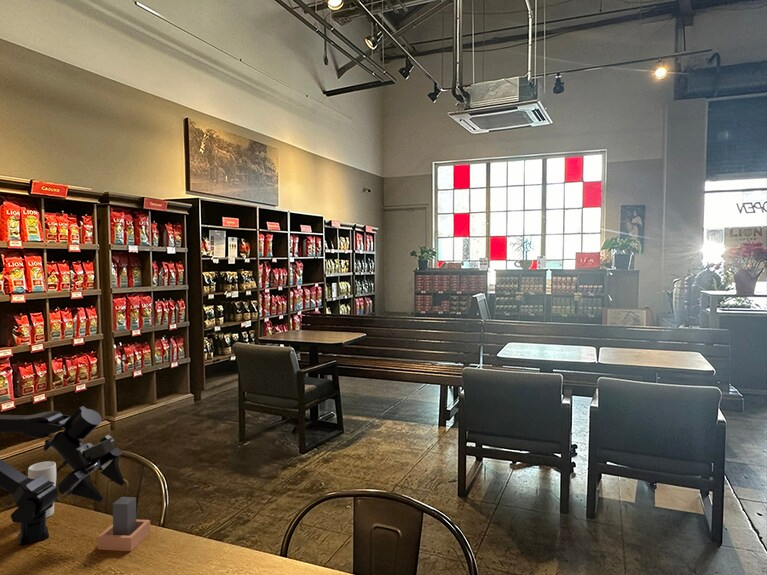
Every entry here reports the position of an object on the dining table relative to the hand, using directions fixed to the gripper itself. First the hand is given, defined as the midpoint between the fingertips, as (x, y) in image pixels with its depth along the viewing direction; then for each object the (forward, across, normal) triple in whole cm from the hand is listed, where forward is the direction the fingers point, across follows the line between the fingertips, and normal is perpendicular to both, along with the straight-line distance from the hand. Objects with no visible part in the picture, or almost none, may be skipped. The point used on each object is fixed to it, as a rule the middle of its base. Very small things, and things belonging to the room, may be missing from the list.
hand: (113, 492), depth 131 cm
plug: (+12, 0, +7) cm, 14 cm away
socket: (+12, 0, +7) cm, 13 cm away
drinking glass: (-10, +10, +30) cm, 33 cm away
